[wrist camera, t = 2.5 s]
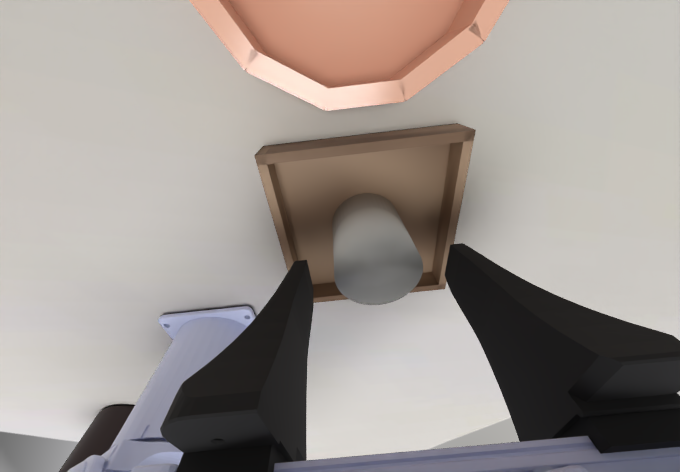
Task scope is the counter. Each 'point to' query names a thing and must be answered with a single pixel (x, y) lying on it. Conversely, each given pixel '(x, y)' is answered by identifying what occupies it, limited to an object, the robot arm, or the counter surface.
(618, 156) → the counter surface
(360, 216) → the stone
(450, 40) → the bowl
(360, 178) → the tray
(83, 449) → the vinegar
